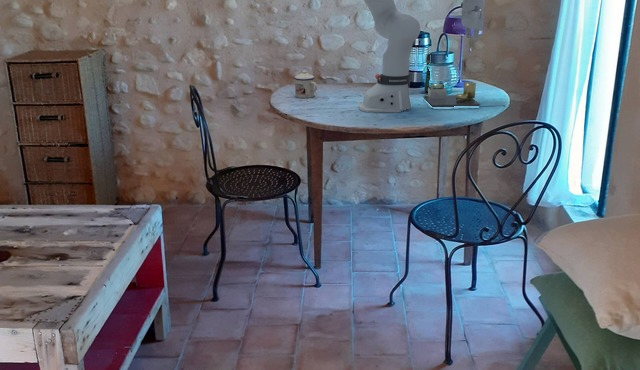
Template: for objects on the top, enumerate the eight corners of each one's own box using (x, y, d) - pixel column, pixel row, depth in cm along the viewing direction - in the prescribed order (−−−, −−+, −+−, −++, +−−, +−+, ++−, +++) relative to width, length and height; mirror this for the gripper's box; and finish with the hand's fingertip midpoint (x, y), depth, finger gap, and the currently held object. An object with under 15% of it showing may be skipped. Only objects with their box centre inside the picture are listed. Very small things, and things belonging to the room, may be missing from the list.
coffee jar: (434, 95, 300) (436, 54, 293) (421, 92, 305) (423, 52, 299) (448, 92, 305) (450, 51, 299) (435, 89, 311) (437, 50, 305)
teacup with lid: (290, 96, 300) (290, 71, 296) (304, 93, 306) (304, 68, 302) (309, 100, 292) (309, 74, 288) (323, 96, 298) (323, 71, 294)
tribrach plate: (432, 109, 273) (433, 90, 270) (423, 100, 290) (424, 82, 287) (480, 108, 274) (481, 89, 271) (468, 99, 291) (469, 81, 288)
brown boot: (463, 101, 276) (464, 87, 274) (453, 99, 280) (454, 85, 277) (477, 97, 284) (478, 83, 281) (467, 95, 287) (468, 81, 285)
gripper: (488, 7, 261) (486, 42, 266) (474, 3, 281) (471, 36, 285) (473, 7, 261) (471, 42, 266) (459, 3, 280) (457, 36, 285)
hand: (471, 39), depth 276 cm, fingers open, 8 cm apart
